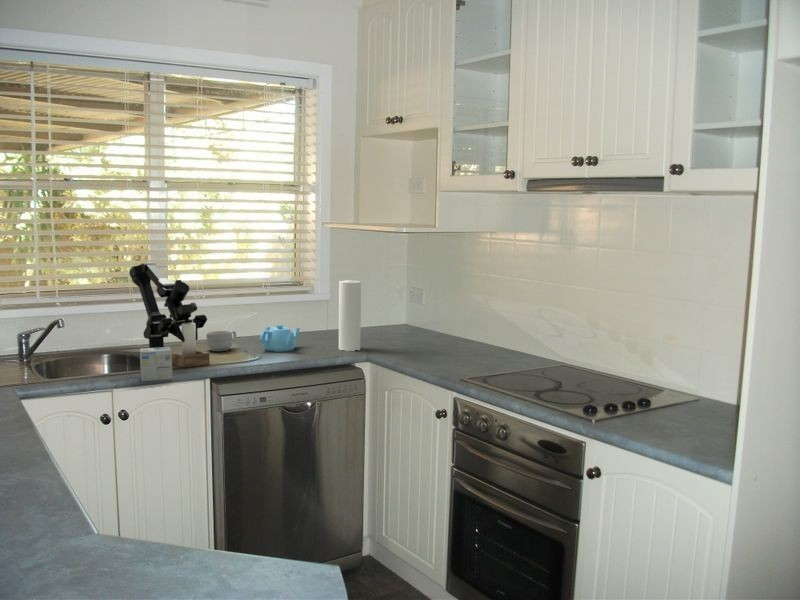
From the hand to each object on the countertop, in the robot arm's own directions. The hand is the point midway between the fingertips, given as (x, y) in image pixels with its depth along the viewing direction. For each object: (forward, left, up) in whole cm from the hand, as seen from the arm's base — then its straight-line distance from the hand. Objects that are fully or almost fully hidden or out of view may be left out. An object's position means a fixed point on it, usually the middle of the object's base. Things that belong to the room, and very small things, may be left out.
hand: (190, 340), depth 295 cm
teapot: (0, +44, -9) cm, 45 cm away
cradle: (-1, 0, -9) cm, 9 cm away
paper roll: (-1, 0, -7) cm, 7 cm away
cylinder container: (+20, +66, -9) cm, 70 cm away
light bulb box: (+13, -22, -9) cm, 27 cm away
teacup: (-15, +25, -9) cm, 31 cm away
